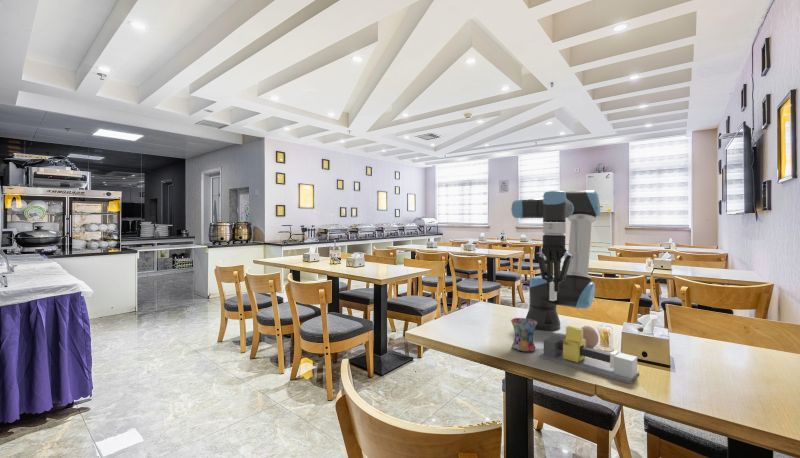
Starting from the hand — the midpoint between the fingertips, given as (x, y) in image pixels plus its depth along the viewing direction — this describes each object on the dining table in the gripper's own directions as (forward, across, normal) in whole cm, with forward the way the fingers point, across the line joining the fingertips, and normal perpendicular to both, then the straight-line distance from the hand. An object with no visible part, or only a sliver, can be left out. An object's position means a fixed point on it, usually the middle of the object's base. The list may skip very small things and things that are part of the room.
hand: (553, 300), depth 128 cm
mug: (+20, -11, 0) cm, 23 cm away
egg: (+20, +5, +18) cm, 28 cm away
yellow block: (+19, +7, 0) cm, 20 cm away
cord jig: (+20, +11, 0) cm, 23 cm away
